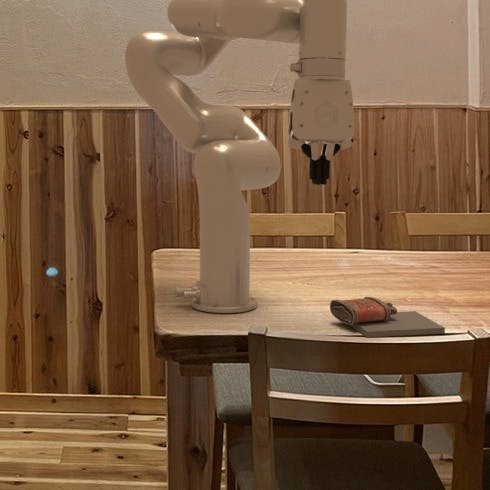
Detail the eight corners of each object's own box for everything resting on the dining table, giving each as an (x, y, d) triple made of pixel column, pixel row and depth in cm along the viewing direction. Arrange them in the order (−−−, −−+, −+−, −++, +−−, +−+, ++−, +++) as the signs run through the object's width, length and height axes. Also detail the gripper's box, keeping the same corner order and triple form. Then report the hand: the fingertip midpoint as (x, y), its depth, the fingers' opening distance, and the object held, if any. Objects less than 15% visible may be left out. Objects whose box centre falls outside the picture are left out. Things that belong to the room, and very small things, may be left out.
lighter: (353, 328, 136) (402, 323, 140) (354, 309, 135) (403, 304, 139) (329, 314, 143) (377, 309, 147) (330, 296, 142) (378, 292, 146)
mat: (366, 337, 133) (367, 331, 133) (342, 319, 144) (342, 314, 144) (444, 333, 136) (444, 327, 136) (414, 316, 147) (415, 311, 147)
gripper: (283, 69, 125) (281, 186, 128) (373, 71, 128) (369, 185, 131) (271, 71, 132) (270, 182, 135) (357, 73, 136) (353, 182, 138)
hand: (319, 183), depth 133 cm, fingers closed
